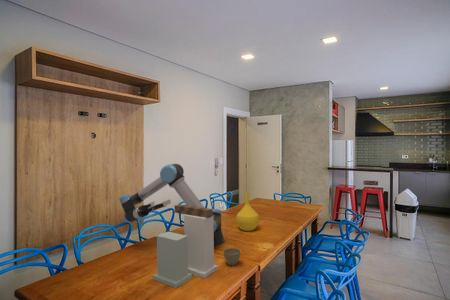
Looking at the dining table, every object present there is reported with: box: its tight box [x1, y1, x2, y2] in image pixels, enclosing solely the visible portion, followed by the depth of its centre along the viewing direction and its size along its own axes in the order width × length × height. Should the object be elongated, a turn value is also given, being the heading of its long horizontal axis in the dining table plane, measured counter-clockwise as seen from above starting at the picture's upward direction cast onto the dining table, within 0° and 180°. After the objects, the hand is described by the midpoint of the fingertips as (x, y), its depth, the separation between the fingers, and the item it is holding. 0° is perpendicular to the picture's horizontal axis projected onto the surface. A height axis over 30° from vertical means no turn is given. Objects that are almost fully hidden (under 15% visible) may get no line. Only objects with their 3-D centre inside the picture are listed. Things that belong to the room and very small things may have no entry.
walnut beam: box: [174, 203, 214, 218], centre depth 147 cm, size 24×4×4 cm, turn 57°
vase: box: [235, 192, 260, 232], centre depth 216 cm, size 18×18×30 cm
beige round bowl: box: [222, 247, 242, 266], centre depth 153 cm, size 10×10×7 cm
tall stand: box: [183, 214, 219, 279], centre depth 145 cm, size 16×12×30 cm
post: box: [152, 231, 193, 289], centre depth 136 cm, size 16×12×22 cm
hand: (162, 202), depth 171 cm, fingers open, 13 cm apart
